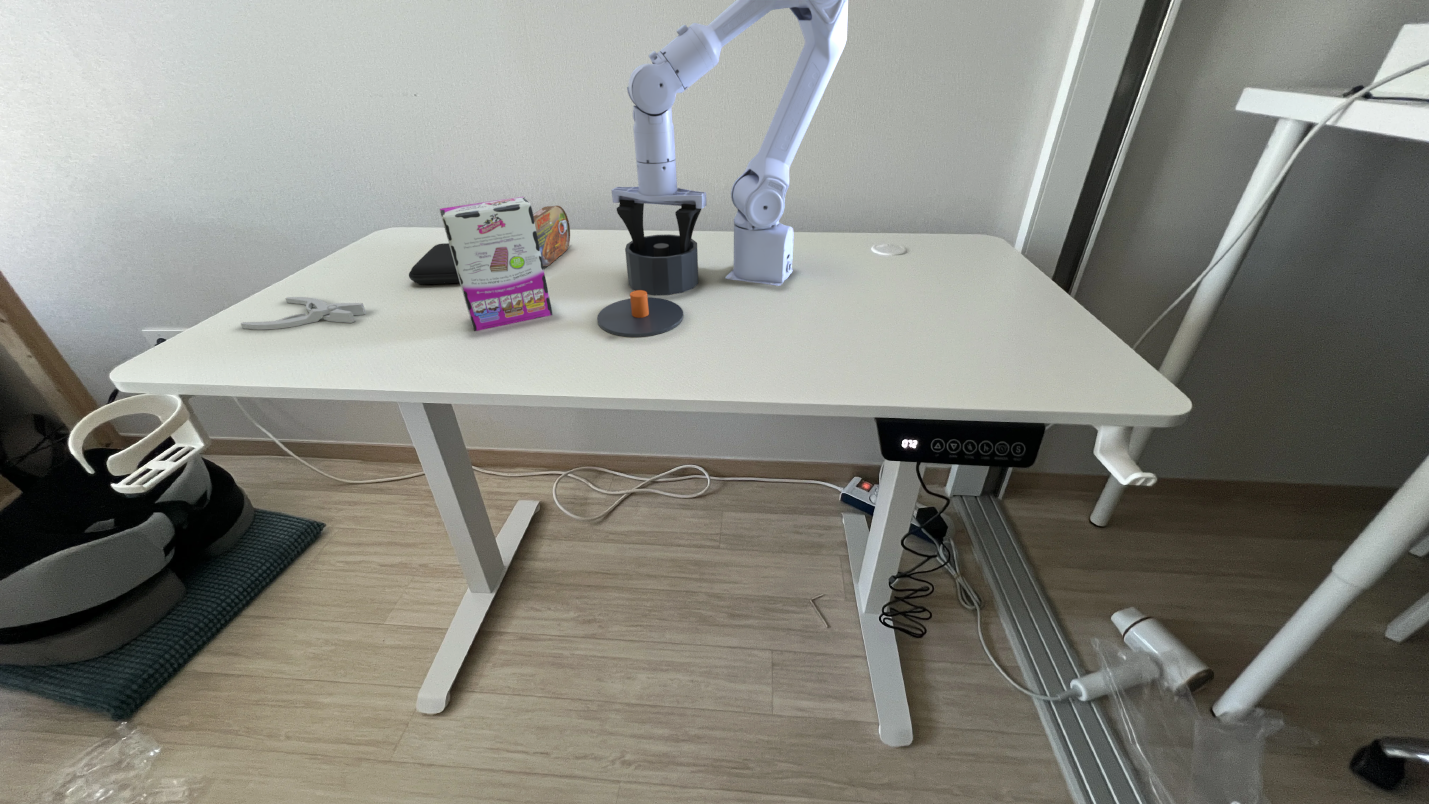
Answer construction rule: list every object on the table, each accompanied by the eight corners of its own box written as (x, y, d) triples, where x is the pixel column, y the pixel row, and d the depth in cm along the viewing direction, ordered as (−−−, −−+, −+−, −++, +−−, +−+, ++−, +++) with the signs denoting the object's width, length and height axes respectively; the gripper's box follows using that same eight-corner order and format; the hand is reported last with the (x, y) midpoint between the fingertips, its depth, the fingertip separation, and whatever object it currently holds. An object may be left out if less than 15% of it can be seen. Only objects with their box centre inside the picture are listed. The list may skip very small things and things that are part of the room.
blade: (683, 277, 97) (682, 241, 93) (672, 289, 92) (670, 252, 89) (654, 274, 98) (652, 239, 95) (642, 286, 94) (639, 249, 90)
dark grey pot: (708, 276, 98) (707, 238, 94) (681, 302, 89) (679, 261, 86) (648, 268, 102) (645, 231, 98) (616, 293, 93) (612, 253, 89)
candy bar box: (545, 306, 89) (524, 195, 80) (554, 318, 85) (533, 203, 76) (468, 321, 85) (437, 206, 76) (474, 335, 81) (442, 215, 72)
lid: (696, 310, 87) (695, 283, 85) (660, 347, 78) (658, 317, 75) (624, 299, 91) (621, 272, 88) (581, 332, 81) (577, 304, 79)
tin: (539, 273, 100) (530, 224, 96) (522, 272, 101) (512, 223, 96) (574, 245, 113) (567, 200, 108) (558, 244, 113) (551, 199, 109)
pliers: (286, 291, 91) (376, 294, 90) (290, 300, 92) (379, 304, 91) (236, 318, 83) (334, 322, 81) (241, 328, 84) (338, 332, 82)
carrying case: (474, 285, 96) (496, 255, 108) (469, 268, 94) (492, 239, 107) (407, 288, 96) (437, 257, 108) (402, 270, 94) (433, 240, 106)
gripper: (712, 156, 86) (713, 246, 94) (622, 152, 90) (631, 239, 97) (696, 166, 81) (699, 261, 88) (601, 161, 84) (612, 253, 92)
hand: (662, 251), depth 92 cm, fingers open, 7 cm apart
